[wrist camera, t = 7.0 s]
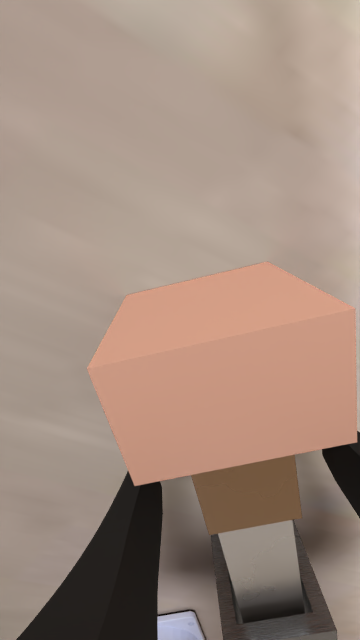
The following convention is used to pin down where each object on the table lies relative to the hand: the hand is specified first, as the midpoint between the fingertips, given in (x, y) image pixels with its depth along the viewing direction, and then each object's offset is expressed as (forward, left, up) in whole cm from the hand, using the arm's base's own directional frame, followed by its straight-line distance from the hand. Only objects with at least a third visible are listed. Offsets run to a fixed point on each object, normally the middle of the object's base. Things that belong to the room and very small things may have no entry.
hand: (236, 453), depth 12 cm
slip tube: (-4, 0, -2) cm, 4 cm away
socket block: (+5, 0, -5) cm, 6 cm away
